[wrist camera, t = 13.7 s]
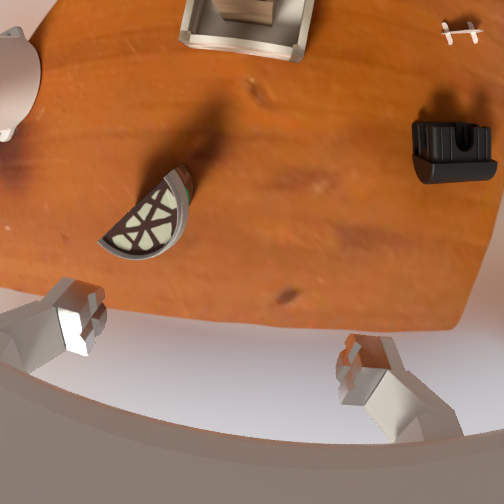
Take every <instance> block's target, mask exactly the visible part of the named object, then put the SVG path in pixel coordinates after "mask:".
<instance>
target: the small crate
mask: <svg viewBox="0 0 504 504" xmlns="http://www.w3.org/2000/svg"><path fill="white" fill-rule="evenodd" d="M277 2H278V0H212V3H213V5H214V6H215V8H216V9H217V11H218V12H219V14H220V15H221V17H222V18H223V20H224V21H231V22H240V23H248V24H255V25H261V26H267V27H272V26H273V21H274V16H275V11H276V7H277Z"/></svg>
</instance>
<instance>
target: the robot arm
mask: <svg viewBox="0 0 504 504" xmlns="http://www.w3.org/2000/svg"><path fill="white" fill-rule="evenodd" d="M40 73H41V72H40V61H39V57H38V54H37V51H36V50H35V48H34V47H33V45H32V44H31V43H29V42H28V41H27V40H26V39H25V37H24V33H23V30H22V28H21V27H13V28H11V29H9V30H7V31H6V32H4V33H2V34H0V141H2V142H5V141H9V140H10V139H11V137H12V135H13V133H14V130H15V128H16V126H17V125H18V124H19V123H20V122H21V121H22V120H23V119H24V118H25V117H26V115H27V114H28V113H29V111H30V109H31V108H32V106H33V104H34V101H35V99H36V96H37V93H38V89H39V84H40ZM104 299H105V291H104V288H103V287H101V286H98V285H94V284H90V283H87V282H83V281H80V280H76V279H72V278H69V277H63V278H62V279H61V280H60V281H59V282H58V283H57V284H56V285H55V286H54V287H53V288H52V289H51V290H50V291H49V292H48V293H47V295H46V296H45V297H44V298H43V299H42V300H41V301H40V302H39V301H34V302H32V303H29V304H26V305H24V306H21V307H18V308H15V309H12V310H10V311H7V312H4V313H2V314H0V504H504V429H500V430H496V431H491V432H486V433H480V434H475V435H469V436H464V435H463V432H462V429H461V427H460V424H459V422H458V419H457V416H456V414H455V411H454V410H453V409H452V408H451V407H450V406H449V405H448V404H446V403H445V402H444V401H443V400H442V399H441V398H440V397H438V396H437V395H436V394H435V393H434V392H433V391H432V390H430V389H429V388H428V387H427V386H426V385H425V384H424V383H422V382H421V381H420V380H419V379H418V378H417V377H415V376H414V375H413V374H412V373H411V372H410V371H405V368H404V366H403V363H402V361H401V358H400V355H399V353H398V350H397V348H396V345H395V343H394V340H393V339H392V338H391V337H380V336H377V337H376V336H367V335H359V334H350V335H349V336H348V337H347V339H346V342H345V345H346V349H345V350H343V351H342V352H341V353H340V354H339V357H338V359H337V363H336V379H337V380H338V381H339V382H340V383H341V384H340V386H339V388H338V391H339V397H340V403H341V404H345V405H357V406H364V408H365V409H366V411H367V412H368V413H369V415H370V416H371V417H372V419H373V420H374V421H375V423H376V424H377V425H378V427H379V428H380V429H381V430H382V432H383V433H384V434H385V436H386V437H387V438H388V440H389V441H390V442H391V444H321V443H303V442H290V441H279V440H269V439H260V438H252V437H245V436H238V435H232V434H225V433H219V432H214V431H208V430H203V429H198V428H193V427H188V426H184V425H179V424H174V423H170V422H166V421H162V420H158V419H154V418H150V417H147V416H143V415H140V414H136V413H132V412H129V411H125V410H122V409H119V408H116V407H112V406H110V405H106V404H103V403H100V402H97V401H95V400H92V399H89V398H86V397H83V396H80V395H78V394H75V393H72V392H70V391H67V390H65V389H62V388H59V387H57V386H55V385H52V384H50V383H48V382H45V381H43V380H41V379H38V378H36V377H34V376H31V375H29V373H31V372H32V371H34V370H36V369H37V368H39V367H40V366H42V365H44V364H45V363H47V362H49V361H50V360H52V359H54V358H55V357H56V356H58V355H60V354H62V353H63V352H65V351H66V350H69V351H73V352H76V353H79V354H82V355H86V356H88V355H89V353H90V351H91V349H92V348H93V346H94V345H95V343H96V342H95V337H96V336H98V335H100V334H101V333H102V332H103V330H104V328H105V324H106V321H107V308H106V307H105V305H104V304H103V303H102V302H103V300H104Z"/></svg>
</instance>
